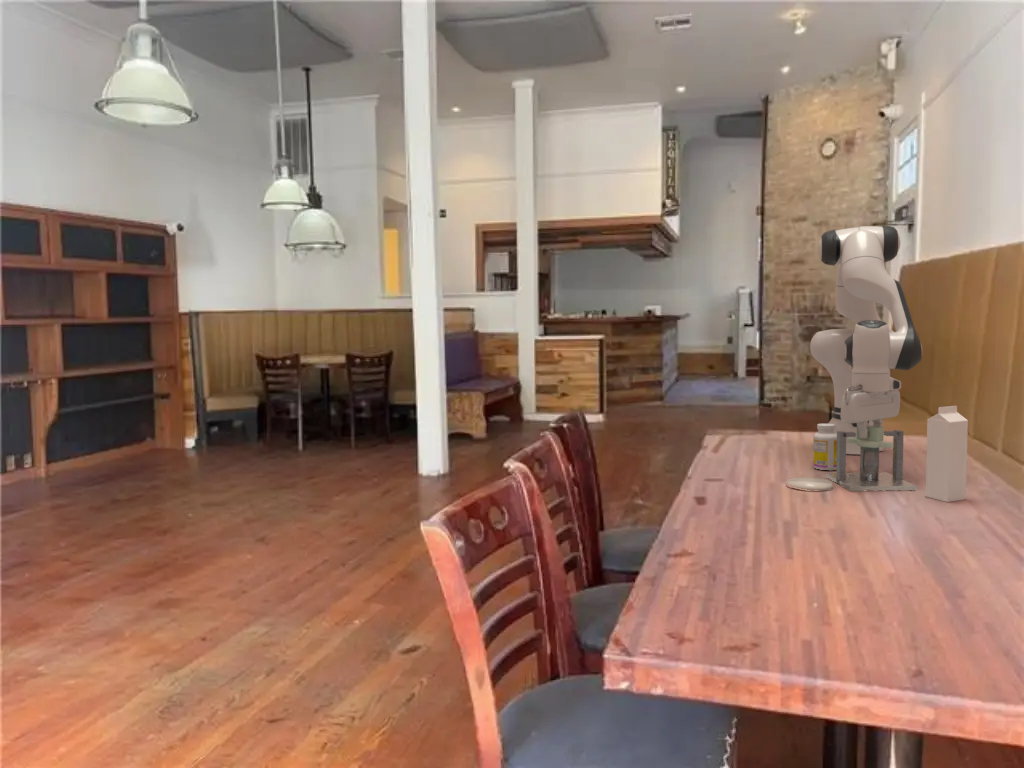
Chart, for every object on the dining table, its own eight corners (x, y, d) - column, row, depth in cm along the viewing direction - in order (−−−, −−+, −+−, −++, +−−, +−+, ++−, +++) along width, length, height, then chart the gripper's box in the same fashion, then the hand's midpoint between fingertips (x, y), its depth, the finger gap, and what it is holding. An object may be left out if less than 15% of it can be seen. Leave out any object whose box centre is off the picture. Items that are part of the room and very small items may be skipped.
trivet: (780, 482, 198) (780, 477, 198) (823, 481, 198) (823, 477, 198) (794, 491, 187) (794, 487, 187) (839, 491, 187) (839, 486, 187)
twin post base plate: (826, 477, 202) (826, 427, 201) (886, 476, 202) (887, 425, 200) (850, 491, 186) (851, 436, 185) (915, 490, 186) (917, 435, 184)
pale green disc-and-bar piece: (854, 441, 199) (855, 423, 199) (897, 446, 190) (898, 427, 190) (842, 444, 196) (842, 425, 195) (885, 449, 187) (886, 430, 186)
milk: (925, 497, 179) (926, 405, 177) (943, 494, 181) (945, 404, 180) (948, 502, 174) (949, 408, 172) (966, 499, 176) (968, 406, 174)
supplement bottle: (834, 466, 216) (834, 422, 215) (842, 471, 209) (842, 426, 208) (810, 466, 217) (810, 423, 216) (817, 471, 210) (817, 426, 209)
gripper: (857, 387, 184) (856, 443, 185) (905, 381, 194) (904, 434, 195) (834, 386, 189) (833, 439, 190) (882, 380, 200) (881, 431, 201)
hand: (869, 437), depth 193 cm, fingers closed on pale green disc-and-bar piece, 3 cm apart
